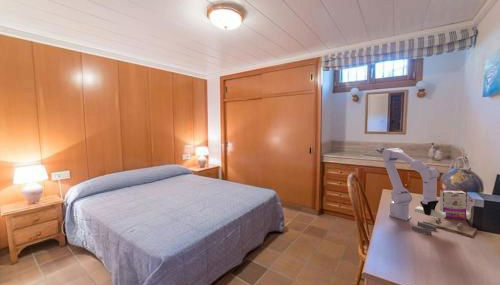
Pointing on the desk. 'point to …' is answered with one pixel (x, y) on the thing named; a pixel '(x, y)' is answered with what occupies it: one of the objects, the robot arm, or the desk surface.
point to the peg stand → (451, 226)
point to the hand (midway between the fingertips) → (429, 213)
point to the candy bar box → (453, 204)
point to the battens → (423, 228)
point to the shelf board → (433, 212)
